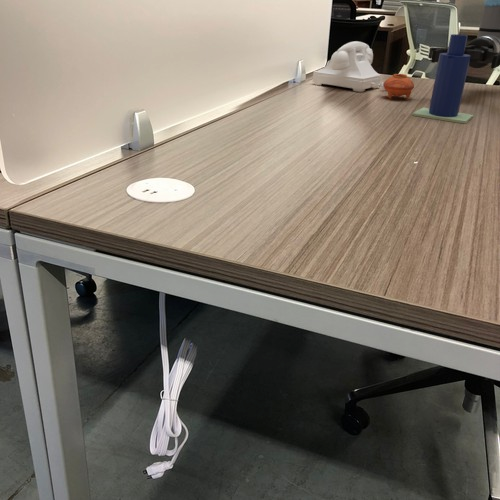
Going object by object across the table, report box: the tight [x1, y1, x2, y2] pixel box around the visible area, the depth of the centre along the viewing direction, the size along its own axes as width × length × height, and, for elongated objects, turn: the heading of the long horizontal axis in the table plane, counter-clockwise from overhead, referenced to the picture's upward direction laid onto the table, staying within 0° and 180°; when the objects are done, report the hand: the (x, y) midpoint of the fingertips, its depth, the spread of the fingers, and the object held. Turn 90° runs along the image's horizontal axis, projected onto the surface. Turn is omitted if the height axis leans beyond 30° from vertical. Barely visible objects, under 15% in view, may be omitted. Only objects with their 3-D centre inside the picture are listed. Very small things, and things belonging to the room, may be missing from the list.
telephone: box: [312, 40, 385, 93], centre depth 148 cm, size 25×21×12 cm
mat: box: [411, 107, 475, 125], centre depth 118 cm, size 12×8×1 cm, turn 56°
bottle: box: [429, 33, 471, 117], centre depth 114 cm, size 6×6×17 cm
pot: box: [383, 73, 415, 100], centre depth 135 cm, size 8×8×7 cm
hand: (462, 59), depth 118 cm, fingers open, 13 cm apart
